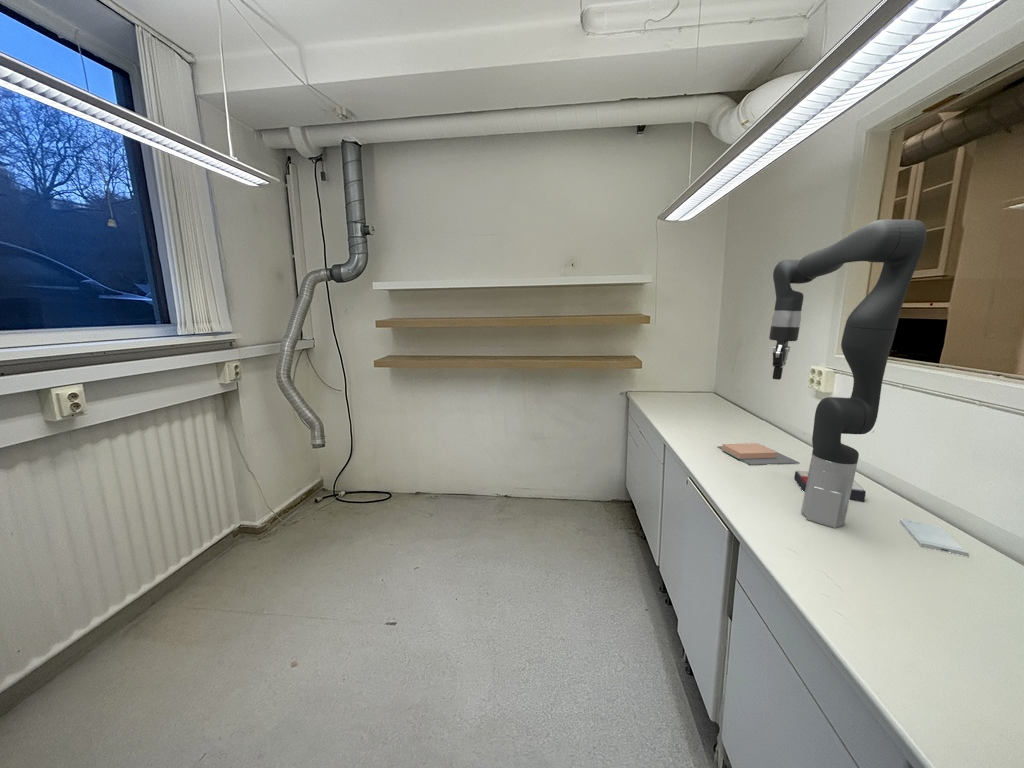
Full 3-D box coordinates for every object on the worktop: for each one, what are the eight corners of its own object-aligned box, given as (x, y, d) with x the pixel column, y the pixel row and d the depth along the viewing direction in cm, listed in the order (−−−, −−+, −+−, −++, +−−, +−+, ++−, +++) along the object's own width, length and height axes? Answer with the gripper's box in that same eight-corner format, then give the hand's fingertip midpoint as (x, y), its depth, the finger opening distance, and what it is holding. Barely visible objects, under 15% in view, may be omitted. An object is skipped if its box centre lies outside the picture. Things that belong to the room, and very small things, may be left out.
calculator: (795, 468, 129) (851, 475, 123) (793, 480, 129) (850, 487, 124) (804, 482, 119) (866, 489, 113) (802, 495, 120) (864, 503, 114)
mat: (749, 465, 139) (749, 464, 139) (717, 447, 156) (717, 446, 156) (799, 463, 142) (799, 462, 142) (762, 446, 159) (762, 445, 159)
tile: (740, 453, 142) (777, 452, 144) (722, 443, 152) (757, 443, 154) (739, 459, 143) (776, 458, 145) (721, 449, 152) (756, 449, 154)
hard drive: (899, 518, 103) (921, 542, 92) (942, 526, 99) (970, 552, 89) (898, 524, 103) (919, 548, 93) (941, 532, 100) (968, 559, 89)
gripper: (796, 326, 115) (787, 383, 119) (802, 325, 125) (793, 378, 128) (767, 325, 120) (759, 379, 124) (774, 324, 130) (767, 375, 133)
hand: (776, 379), depth 126 cm, fingers closed
